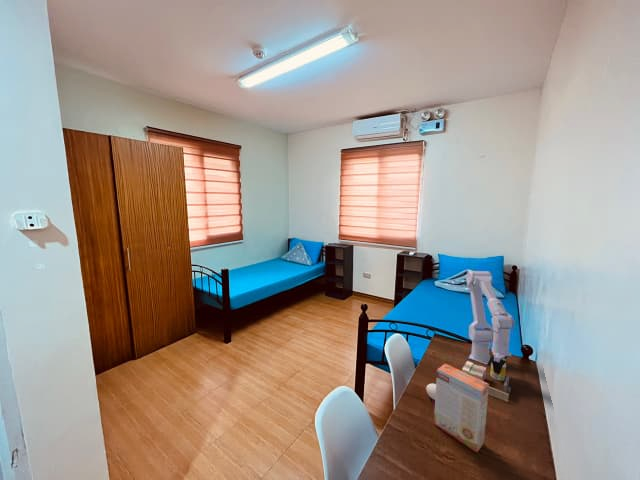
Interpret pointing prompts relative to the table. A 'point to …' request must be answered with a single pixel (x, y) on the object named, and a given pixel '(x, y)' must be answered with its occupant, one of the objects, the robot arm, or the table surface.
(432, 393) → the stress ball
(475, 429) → the cracker box
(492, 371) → the supplement bottle
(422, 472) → the table surface
